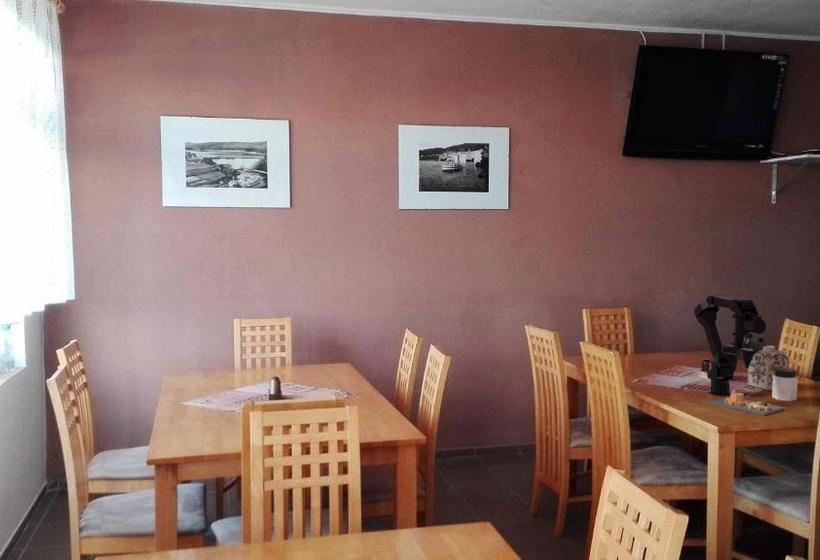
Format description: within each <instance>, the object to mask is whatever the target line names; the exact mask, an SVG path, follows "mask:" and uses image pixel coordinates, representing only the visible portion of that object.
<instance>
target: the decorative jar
mask: <svg viewBox="0 0 820 560" xmlns="http://www.w3.org/2000/svg"><path fill="white" fill-rule="evenodd" d="M789 366H790V359H789V357H788V356H787V355H786V353H784V351H782V350H777V349H776V346H774V345H766V346H765V347H763V349H762V351H759V352H757V353H756V354H755V355H754V356H753V358H752V361H751V363H750V366H749V368H747V386H750V385H752V386H751V387H753V386H755V387H754V388H757V387H759V388H758V389H760V388H762V389H761V390H764V389H765V391H772V387H773V375H774V369H775V368H789V369H790V367H789Z"/></svg>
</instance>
